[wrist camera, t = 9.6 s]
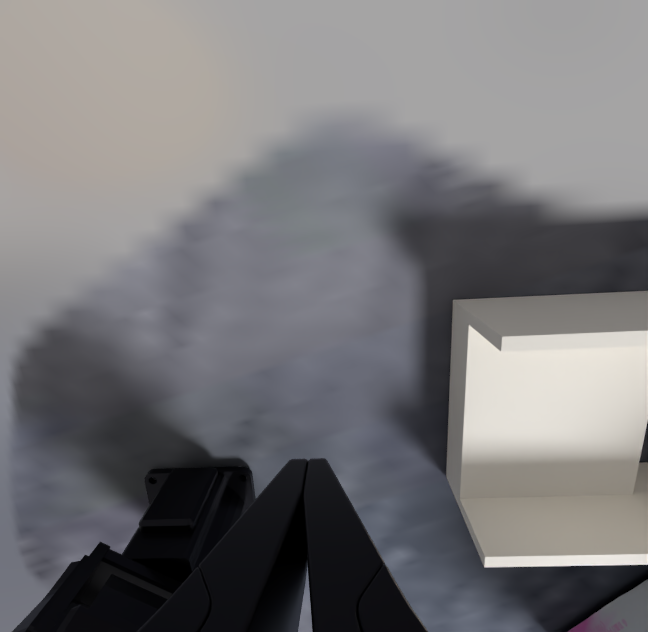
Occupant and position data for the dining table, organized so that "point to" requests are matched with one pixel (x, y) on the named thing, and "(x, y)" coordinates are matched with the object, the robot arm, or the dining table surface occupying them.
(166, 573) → the robot arm
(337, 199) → the dining table surface
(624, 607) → the gum box
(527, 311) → the channel
